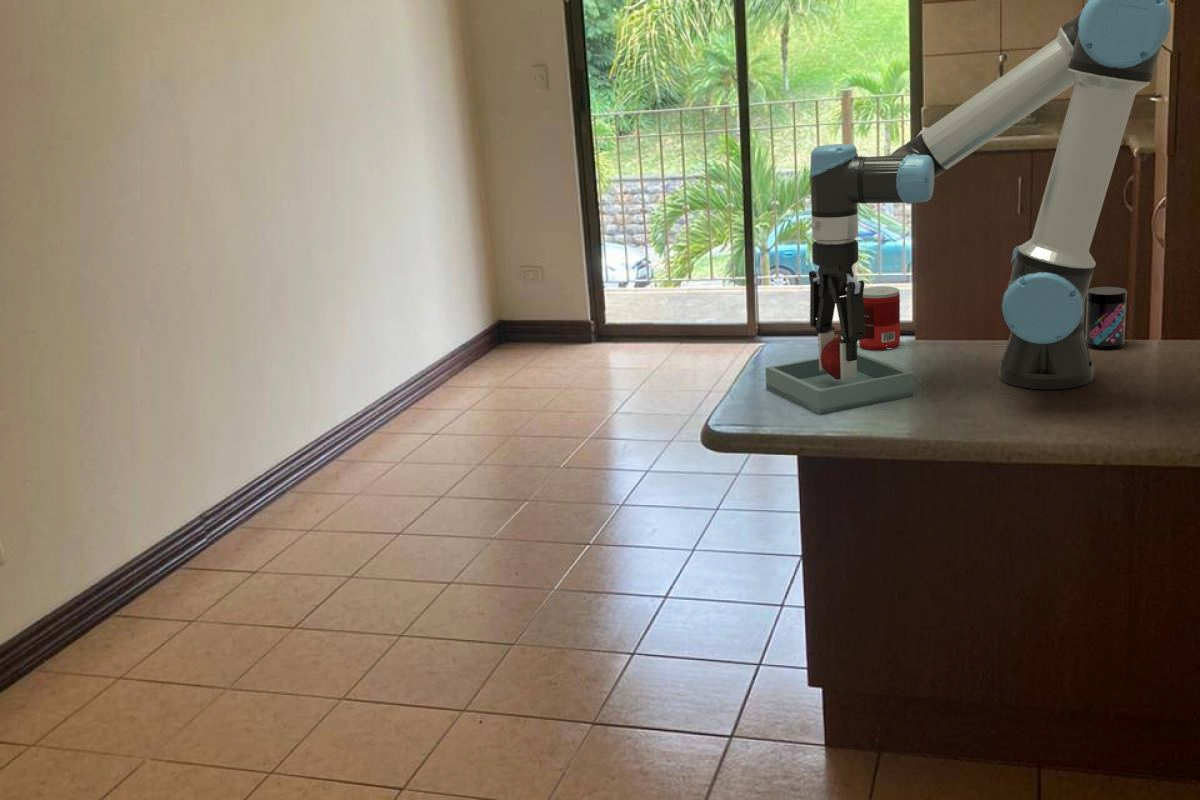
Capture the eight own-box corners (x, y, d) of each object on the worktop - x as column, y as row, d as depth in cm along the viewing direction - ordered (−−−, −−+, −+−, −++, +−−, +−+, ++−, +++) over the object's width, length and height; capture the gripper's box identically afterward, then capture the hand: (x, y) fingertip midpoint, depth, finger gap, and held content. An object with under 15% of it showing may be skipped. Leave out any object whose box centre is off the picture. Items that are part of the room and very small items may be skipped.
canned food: (905, 342, 237) (905, 287, 234) (891, 352, 230) (891, 295, 227) (867, 339, 241) (867, 285, 238) (853, 349, 234) (852, 293, 231)
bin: (913, 396, 203) (913, 373, 202) (819, 414, 197) (819, 391, 196) (854, 372, 219) (853, 351, 218) (766, 389, 213) (765, 367, 212)
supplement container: (1079, 348, 223) (1081, 293, 220) (1092, 339, 228) (1094, 285, 225) (1117, 352, 219) (1119, 295, 216) (1129, 343, 224) (1132, 288, 221)
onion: (855, 384, 204) (855, 338, 202) (820, 384, 205) (819, 339, 203) (855, 374, 210) (854, 329, 207) (821, 374, 211) (820, 330, 208)
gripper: (786, 235, 208) (790, 365, 215) (846, 250, 191) (849, 390, 197) (824, 230, 211) (827, 358, 217) (887, 244, 193) (888, 382, 200)
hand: (837, 373), depth 207 cm, fingers open, 6 cm apart
